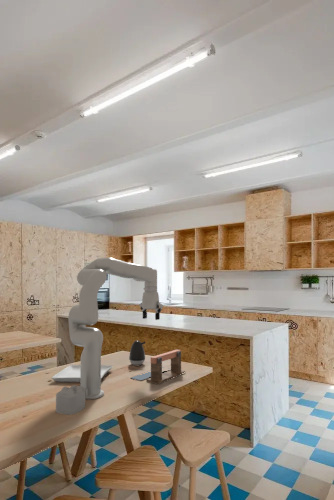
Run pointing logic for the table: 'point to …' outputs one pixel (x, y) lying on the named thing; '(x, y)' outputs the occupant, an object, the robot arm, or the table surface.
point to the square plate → (76, 373)
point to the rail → (165, 356)
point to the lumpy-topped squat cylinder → (70, 400)
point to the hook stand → (175, 371)
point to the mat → (142, 376)
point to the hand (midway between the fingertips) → (151, 319)
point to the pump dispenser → (137, 353)
